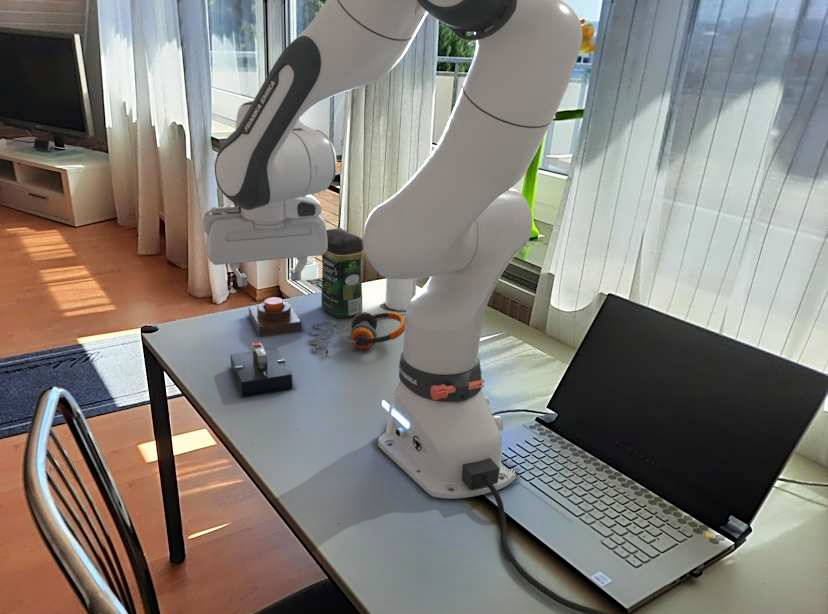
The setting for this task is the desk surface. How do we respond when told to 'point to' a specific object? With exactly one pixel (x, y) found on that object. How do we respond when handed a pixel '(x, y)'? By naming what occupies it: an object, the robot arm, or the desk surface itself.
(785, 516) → the desk surface
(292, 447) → the desk surface
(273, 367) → the dial panel
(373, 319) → the headphones
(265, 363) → the dial
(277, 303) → the button
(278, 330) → the button block
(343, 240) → the coffee jar
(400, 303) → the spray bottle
